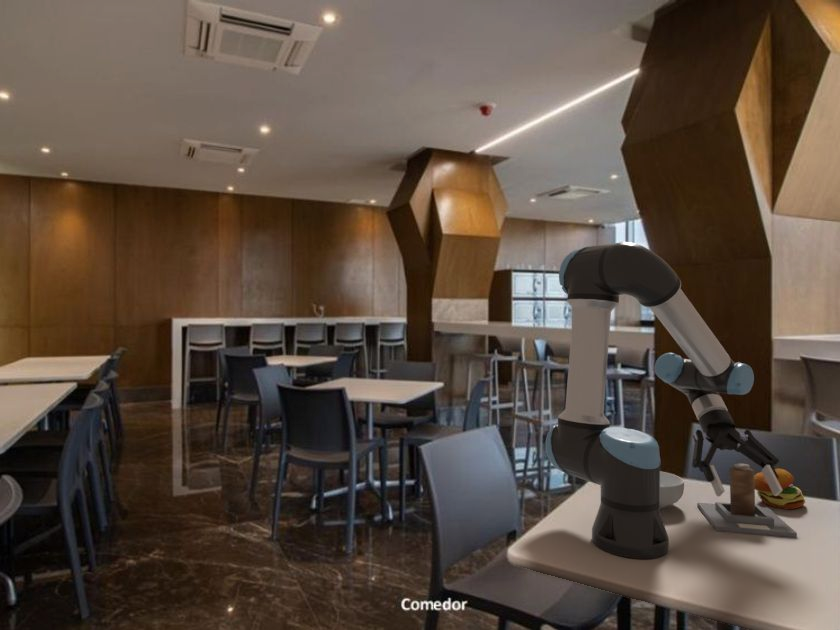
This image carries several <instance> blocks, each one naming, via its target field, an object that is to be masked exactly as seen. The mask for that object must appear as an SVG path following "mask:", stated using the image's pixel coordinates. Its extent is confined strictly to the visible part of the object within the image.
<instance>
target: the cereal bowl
mask: <svg viewBox="0 0 840 630" xmlns="http://www.w3.org/2000/svg"><path fill="white" fill-rule="evenodd" d="M684 489H685V481H684V479H683V478H682V477H680V476H678V475H676V474H674V473H670V472H667V471H666V472H665V471H661V470H660V500H659V510H661V509H664V508H665V507H667V506H670V505H671V506H672V505H673V504H675V503H677V502H679V501H680V500H681V498H682V497H683V494H684Z"/></svg>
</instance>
